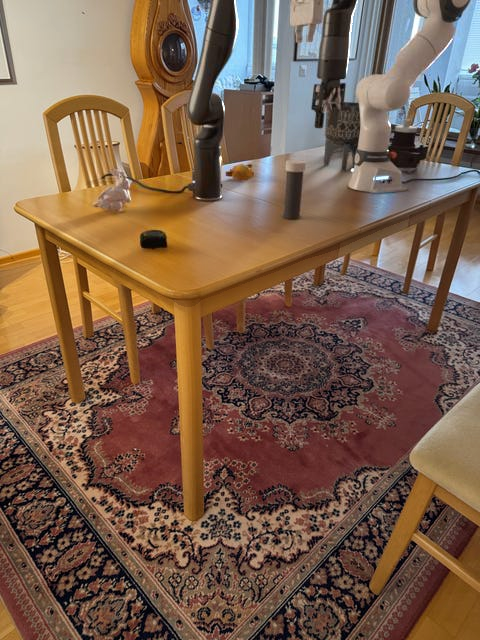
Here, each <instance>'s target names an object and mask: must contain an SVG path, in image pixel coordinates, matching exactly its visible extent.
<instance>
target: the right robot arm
mask: <svg viewBox="0 0 480 640" xmlns="http://www.w3.org/2000/svg"><path fill="white" fill-rule="evenodd" d="M412 1H413V3H412V4H413V10H414V12H415V14H416V15H417V16H418V17H420V18H422V19H426V20H425V22H424V24H423V26H422V27H421V29H420V30H418V31H417V32H416V34H415V35H413V37H411V38H410V40H409V41H408V42H407V43H406V44H405V45H404V46H403V47H402V48H401V49H400V50H399V51H398V52H397V53H396V55H395V58H394V62H393V64H392V66H391V67H390V68H389V69H388V71H386V73H384V74H377V73H374V74H373V73H372V74H370V75H368V76H365V77H363V78H362V79H361V80H359V82H358V83H357V85H356V89H355V97H356V99H357V101H358V102H357V103H359V109H360V135H359V142H358V148H357V149H356V155H355V166H353V168H351V169H350V172H352V174H351V176H350V180H349V182H348V184H347V187H348V188H350V189H352V190H355V191H359V192H367V193H372V194H386V193H387V194H388V193H393V192H394V193H395V192H404V191H408V186H406V184H407V183H409V182H410V183H411V182H414V181H415V182H417V181H420V182H421V181H425V182H433V181H448V180H453V179H456V178H458V177H460V176H461V175H465V174H468V173H473V172H475V173H477V174H478V175H480V170H478V169H470V170H469V169H468V170H466V171H462V172H460V173H458V174H456V175H453V176H449V177H438V178H437V177H433V178H421V177H420V178H410V179H408V180H405V181H403V173H402V171H400V170H399V169H398V168H397V167H396V166H395V165H394V164H393V163H392V162H391V161H390V157H392V158H395V157H396V156H397V154H395V152H390V151H388V145H389V143H390V139H391V135H392V134H391V133H392V126H391V123H390V122H389V112H392V111H397V110H400V109H402V108H403V107H405V105H406V104H407V103H408V101H409V99H410V97H411V89H412V88H413V86H414V85H415V83H416V82H417V80H418V79H419V78H420V76H422V74H424V72H425V71H426V70H427V69H429V67H430V66H431V65H432V64H433V63H434V62H435V61H436V60H437V59H438V58H439V57H440V55H442V53H443V52H444V51H445V50H446V49H447V48H448V46H449V45H450V43H451V42H452V40H453V39H454V37H455V33H456V27H455V24H454V23H455V22H456V21H458V20H460V19H461V18H462V17H463V14H464V11H466V9H467V8H468V6H469V5H470V2H471V0H412ZM324 4H325V2H324V0H290V4H289V5H290V6H289V23H290V27H293V28H294V32H295V42H296V44H298V43H300V44H302V43H303V38H304V36H303V30H304V29H303V28H304V27H307V34H306V37H305V42H306V43H313V41H314V35H315V32H316V30H317V25H321V24H323V18H324Z"/></svg>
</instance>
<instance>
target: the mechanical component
mask: <svg viewBox="0 0 480 640" xmlns="http://www.w3.org/2000/svg"><path fill="white" fill-rule="evenodd" d="M411 122H412V121H411V119H403V125H401V124H400V125H395V126H394V132H393V136H392V142H389V145H388V151H390V152H395V154H397V156H396V157H395V158H392V157H390V161H391V162H392V163H393V164H394V165H395V166H396V167H397V168H398V169H399V170H400V171H401V172H407V173H408V174H412V171H415V170H416V169H417V168H419V167H420V166H421V161H423V160H426V159H427V157H428V156H427V155H428V153H429V146H430V145H427V144H424V143H423V142H419V141H416V135H417V132H418V127H417V126H414V125H411Z"/></svg>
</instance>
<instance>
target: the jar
mask: <svg viewBox="0 0 480 640" xmlns="http://www.w3.org/2000/svg"><path fill="white" fill-rule="evenodd" d="M303 180H304V171H303V172H290V171H287V170H286V177H285V193H284V207H283V219H286V220H291V221H292V220H293V221H295V220H299V219H300V214H301V203H302V193H303V192H302V191H303V182H304V181H303Z"/></svg>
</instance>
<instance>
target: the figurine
mask: <svg viewBox="0 0 480 640" xmlns="http://www.w3.org/2000/svg"><path fill="white" fill-rule="evenodd" d="M108 171H109V172H110V174H112V175H113V176H112V177H114V178H115V185H109V186H107V187H106V188H105V189H104V190H103V191H102V192H101V193H100V195H98V196H97V198H96V199H97V200H96V201H94V202H92V206H93V207H94V208H100V209H102V210H105V211H110V212H116V213H118V212H119V213H120V212H124V210H123V209H122V207H126V203H128V204H129V203H131V202H132V198H131V196H130V195H131V194H130V193H131V192H130V188H131V184H132V183H133V181H132V180H129V179H127V178H126V177H127V175H126V173H125V172H124V171H123V170H121V169H120V168H117V169H116V168H114V167H111V168H109V169H108ZM120 176H121V177H122V178H120Z"/></svg>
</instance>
